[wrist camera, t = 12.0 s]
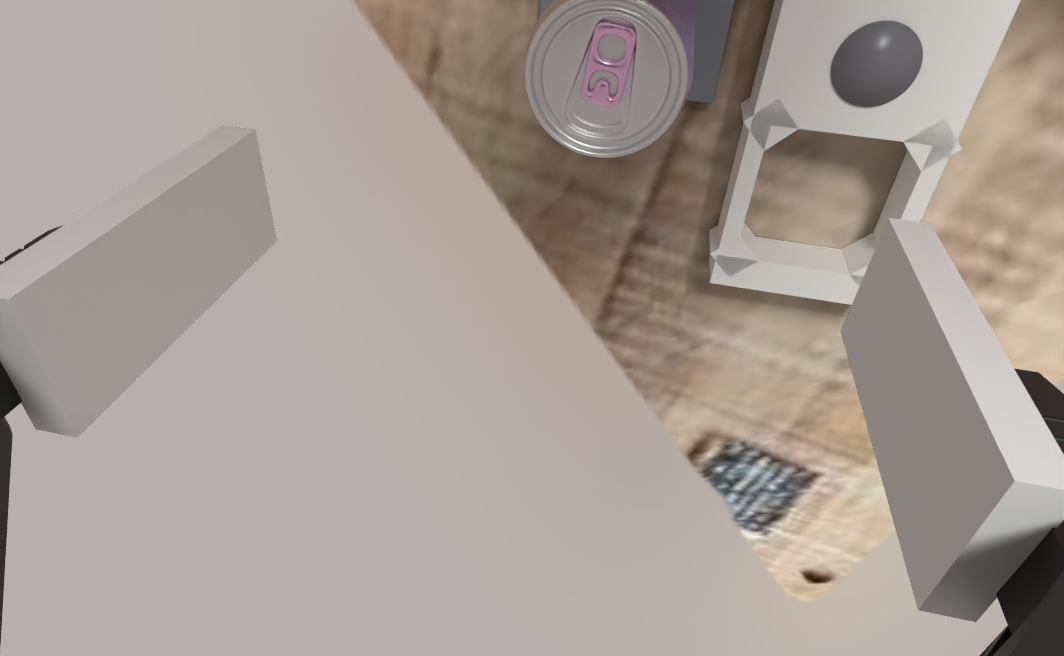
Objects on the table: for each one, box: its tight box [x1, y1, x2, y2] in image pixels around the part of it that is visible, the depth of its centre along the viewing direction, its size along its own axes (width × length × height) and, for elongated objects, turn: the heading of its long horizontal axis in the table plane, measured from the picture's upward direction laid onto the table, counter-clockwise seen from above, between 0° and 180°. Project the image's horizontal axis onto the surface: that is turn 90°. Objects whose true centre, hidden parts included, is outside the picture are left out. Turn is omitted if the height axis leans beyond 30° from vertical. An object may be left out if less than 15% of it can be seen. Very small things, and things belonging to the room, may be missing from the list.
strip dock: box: [709, 0, 1021, 305], centre depth 33 cm, size 30×11×4 cm, turn 177°
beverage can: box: [525, 0, 695, 158], centre depth 29 cm, size 6×6×15 cm
